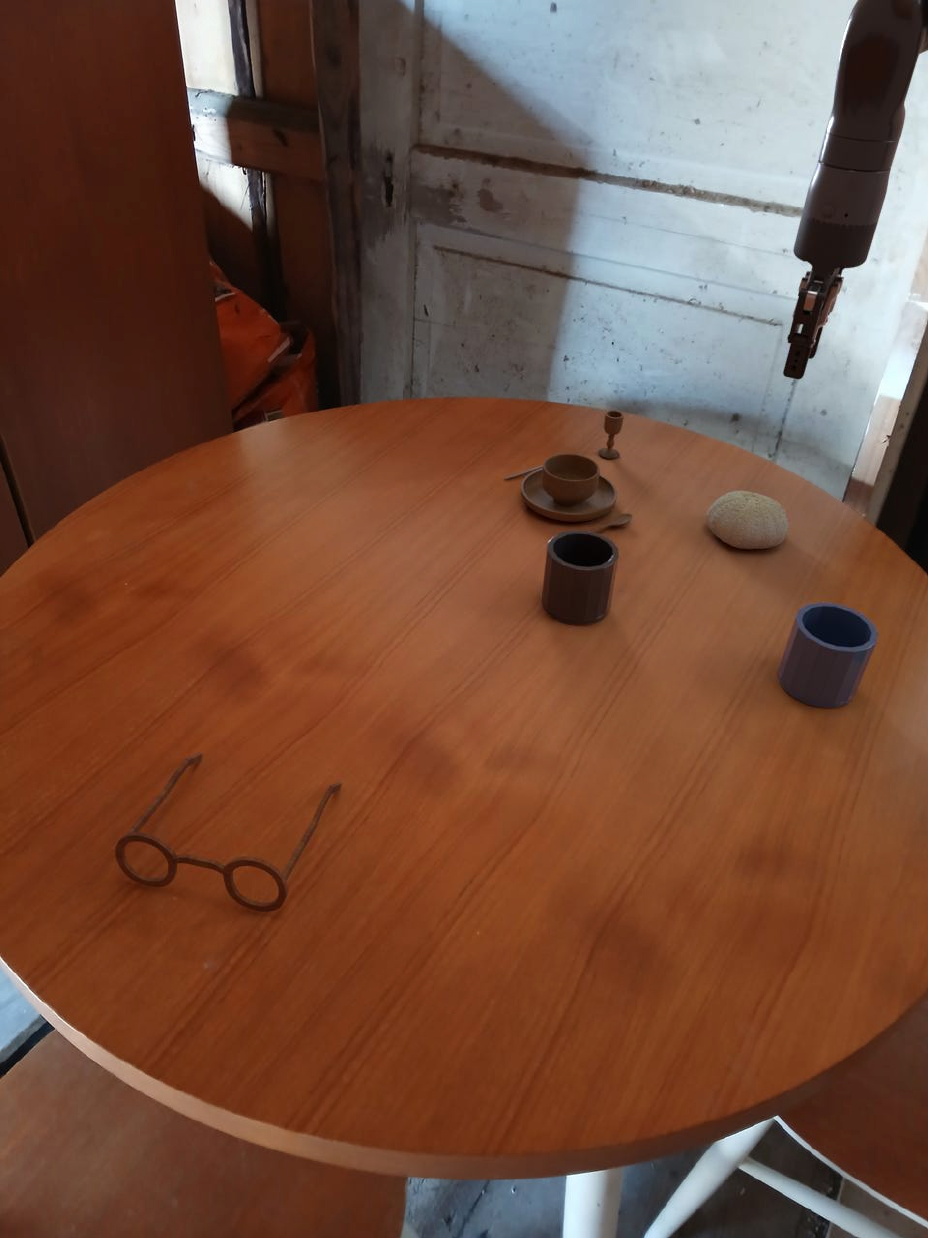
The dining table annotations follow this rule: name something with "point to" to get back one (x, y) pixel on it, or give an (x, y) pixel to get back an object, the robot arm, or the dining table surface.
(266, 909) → the glasses
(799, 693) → the blue cup
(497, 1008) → the dining table surface
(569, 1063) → the dining table surface
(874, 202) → the robot arm
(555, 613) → the charcoal cup
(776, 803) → the dining table surface
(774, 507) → the sea urchin shell
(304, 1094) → the dining table surface
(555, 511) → the place setting
